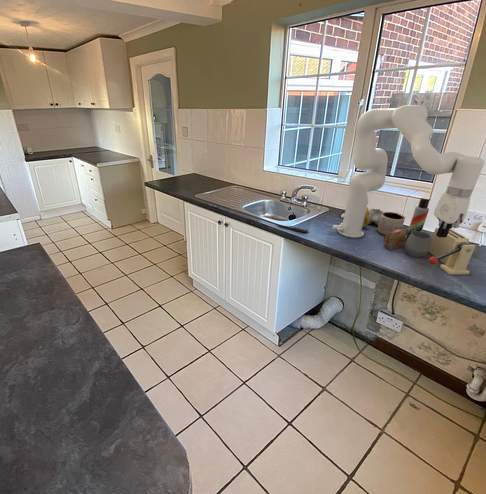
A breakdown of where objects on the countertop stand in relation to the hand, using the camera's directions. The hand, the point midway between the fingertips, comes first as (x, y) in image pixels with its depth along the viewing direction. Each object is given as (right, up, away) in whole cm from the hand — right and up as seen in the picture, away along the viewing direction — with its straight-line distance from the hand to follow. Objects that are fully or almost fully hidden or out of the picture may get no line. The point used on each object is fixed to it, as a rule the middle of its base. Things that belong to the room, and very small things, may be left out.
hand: (441, 236), depth 120 cm
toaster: (+13, -9, +17) cm, 23 cm away
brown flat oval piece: (-3, -4, +27) cm, 27 cm away
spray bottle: (+14, +1, +37) cm, 40 cm away
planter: (+3, +3, +41) cm, 41 cm away
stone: (-8, +14, +49) cm, 52 cm away
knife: (-46, +6, +46) cm, 65 cm away
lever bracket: (+11, -14, +7) cm, 19 cm away
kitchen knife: (-8, +15, +64) cm, 67 cm away
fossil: (+2, +11, +62) cm, 63 cm away
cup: (+2, -8, +19) cm, 21 cm away
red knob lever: (+6, -8, +4) cm, 11 cm away
